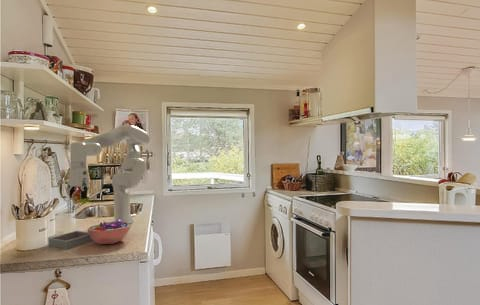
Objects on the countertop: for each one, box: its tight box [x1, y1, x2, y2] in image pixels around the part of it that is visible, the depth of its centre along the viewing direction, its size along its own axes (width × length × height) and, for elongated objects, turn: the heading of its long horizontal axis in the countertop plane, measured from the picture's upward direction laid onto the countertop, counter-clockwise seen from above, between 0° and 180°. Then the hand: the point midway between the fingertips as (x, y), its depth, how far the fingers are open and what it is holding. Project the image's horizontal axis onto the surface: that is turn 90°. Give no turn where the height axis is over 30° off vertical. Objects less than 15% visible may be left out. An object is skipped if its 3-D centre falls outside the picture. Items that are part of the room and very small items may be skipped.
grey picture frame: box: [47, 230, 94, 250], centre depth 147 cm, size 15×13×4 cm
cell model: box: [87, 219, 132, 245], centre depth 146 cm, size 17×20×11 cm
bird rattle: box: [71, 187, 90, 205], centre depth 158 cm, size 6×11×9 cm
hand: (78, 197), depth 158 cm, fingers closed on bird rattle, 8 cm apart
